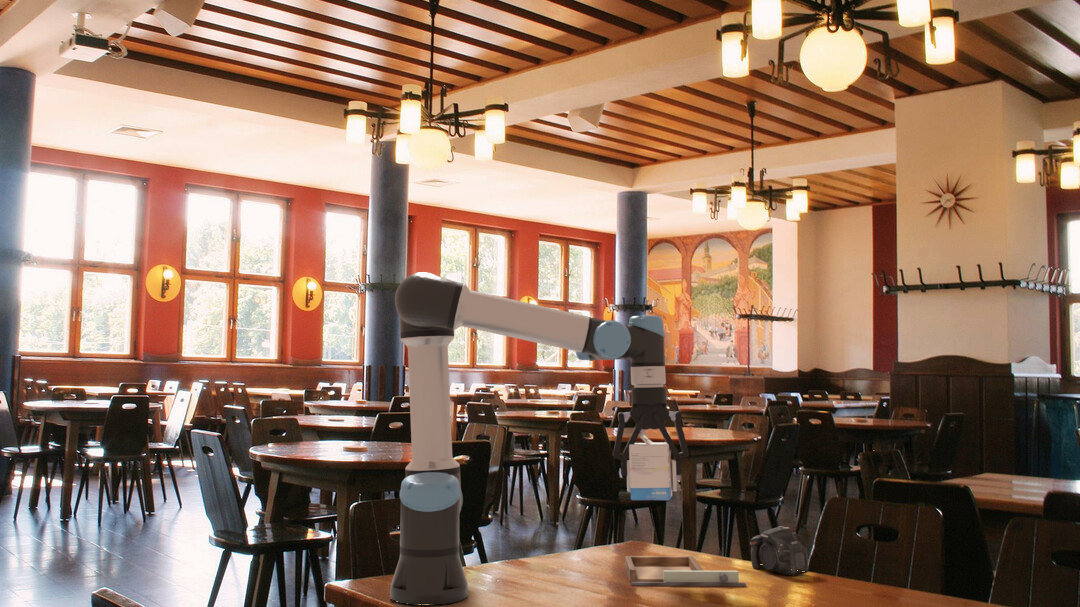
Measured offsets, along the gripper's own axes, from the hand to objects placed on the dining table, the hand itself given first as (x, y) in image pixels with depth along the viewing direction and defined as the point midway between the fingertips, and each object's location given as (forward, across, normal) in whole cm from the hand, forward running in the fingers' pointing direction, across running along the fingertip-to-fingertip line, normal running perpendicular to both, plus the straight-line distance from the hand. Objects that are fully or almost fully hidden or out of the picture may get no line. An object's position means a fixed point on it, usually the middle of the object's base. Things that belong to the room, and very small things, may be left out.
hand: (651, 490), depth 192 cm
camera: (+19, +28, +8) cm, 35 cm away
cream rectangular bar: (+19, +9, -6) cm, 22 cm away
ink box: (+2, 0, 0) cm, 2 cm away
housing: (+19, +6, +2) cm, 20 cm away
